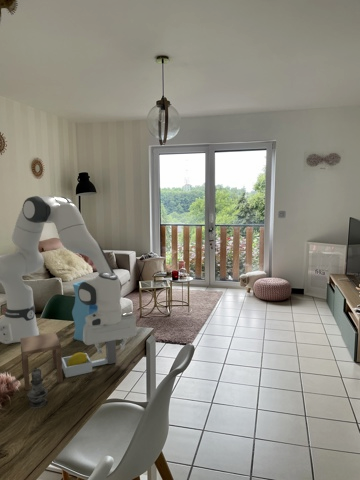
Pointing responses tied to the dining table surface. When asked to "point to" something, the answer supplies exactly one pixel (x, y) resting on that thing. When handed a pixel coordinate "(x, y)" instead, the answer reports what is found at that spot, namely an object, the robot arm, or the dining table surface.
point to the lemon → (77, 359)
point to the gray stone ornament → (37, 390)
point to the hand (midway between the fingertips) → (111, 351)
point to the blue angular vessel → (81, 313)
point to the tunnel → (41, 345)
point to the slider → (89, 364)
